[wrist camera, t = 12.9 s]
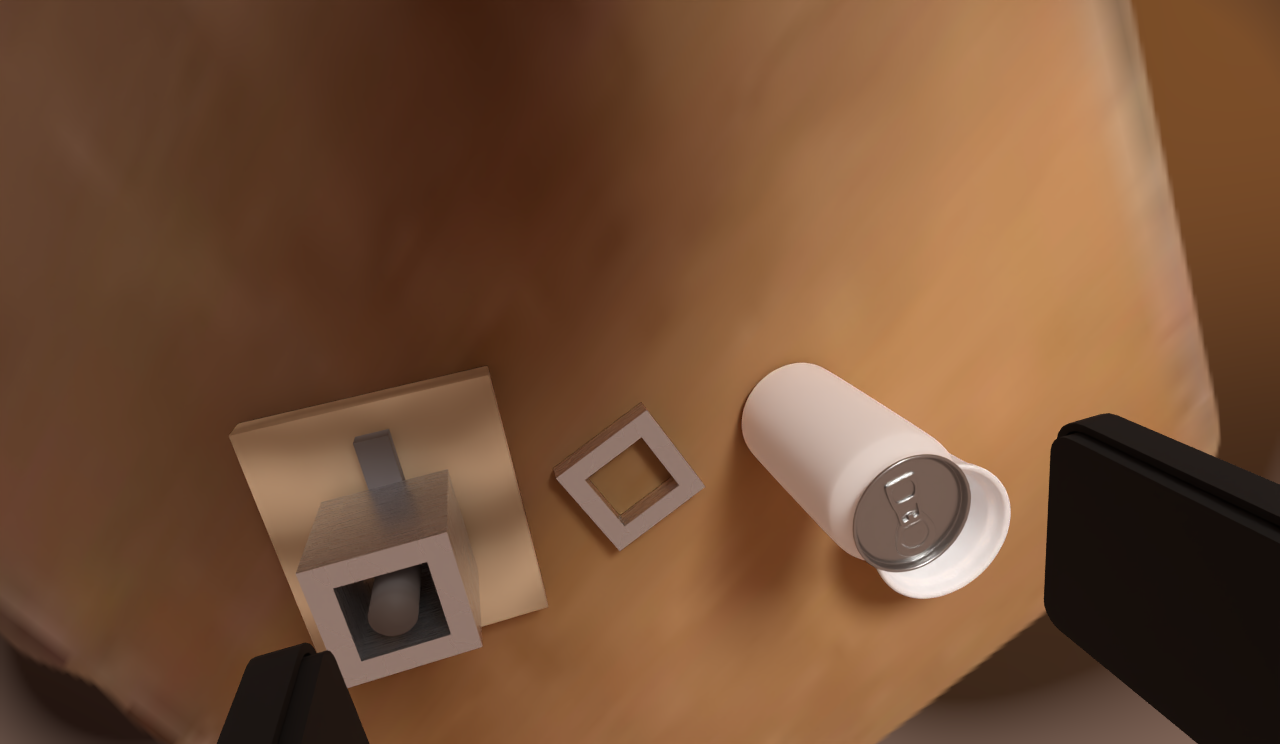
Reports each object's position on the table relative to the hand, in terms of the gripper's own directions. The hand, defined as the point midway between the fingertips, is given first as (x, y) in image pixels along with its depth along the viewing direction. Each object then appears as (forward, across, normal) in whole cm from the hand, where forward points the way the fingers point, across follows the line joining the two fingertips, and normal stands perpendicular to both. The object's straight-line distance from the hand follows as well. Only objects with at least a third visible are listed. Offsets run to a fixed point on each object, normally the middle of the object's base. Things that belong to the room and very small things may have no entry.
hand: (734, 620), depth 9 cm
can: (+28, -13, +12) cm, 34 cm away
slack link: (+28, -3, +13) cm, 31 cm away
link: (+26, +9, +12) cm, 30 cm away
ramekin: (+29, -20, +20) cm, 40 cm away
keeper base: (+28, +9, +12) cm, 32 cm away
